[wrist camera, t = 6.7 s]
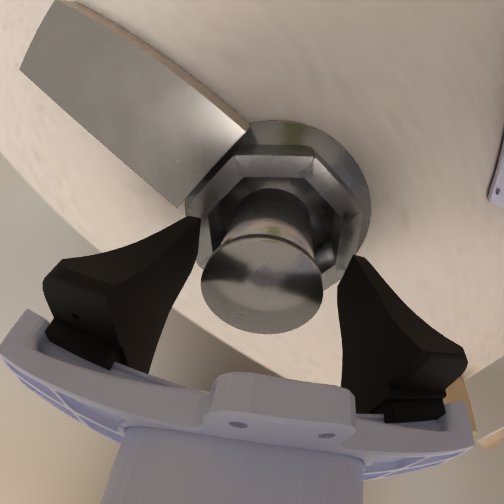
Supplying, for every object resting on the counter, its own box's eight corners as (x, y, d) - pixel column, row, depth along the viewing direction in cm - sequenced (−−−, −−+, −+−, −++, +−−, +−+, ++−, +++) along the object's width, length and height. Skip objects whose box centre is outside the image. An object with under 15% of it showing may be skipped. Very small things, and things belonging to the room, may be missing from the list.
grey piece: (28, 96, 13) (0, 104, 10) (100, -30, 7) (72, -38, 5) (275, 308, 20) (272, 339, 18) (400, 220, 15) (417, 247, 13)
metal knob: (294, 170, 14) (294, 222, 9) (326, 244, 16) (337, 318, 11) (214, 204, 16) (177, 266, 11) (253, 268, 18) (237, 342, 13)
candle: (420, 398, 28) (430, 462, 19) (441, 377, 24) (456, 448, 16) (448, 394, 27) (460, 453, 19) (469, 373, 24) (486, 437, 16)
